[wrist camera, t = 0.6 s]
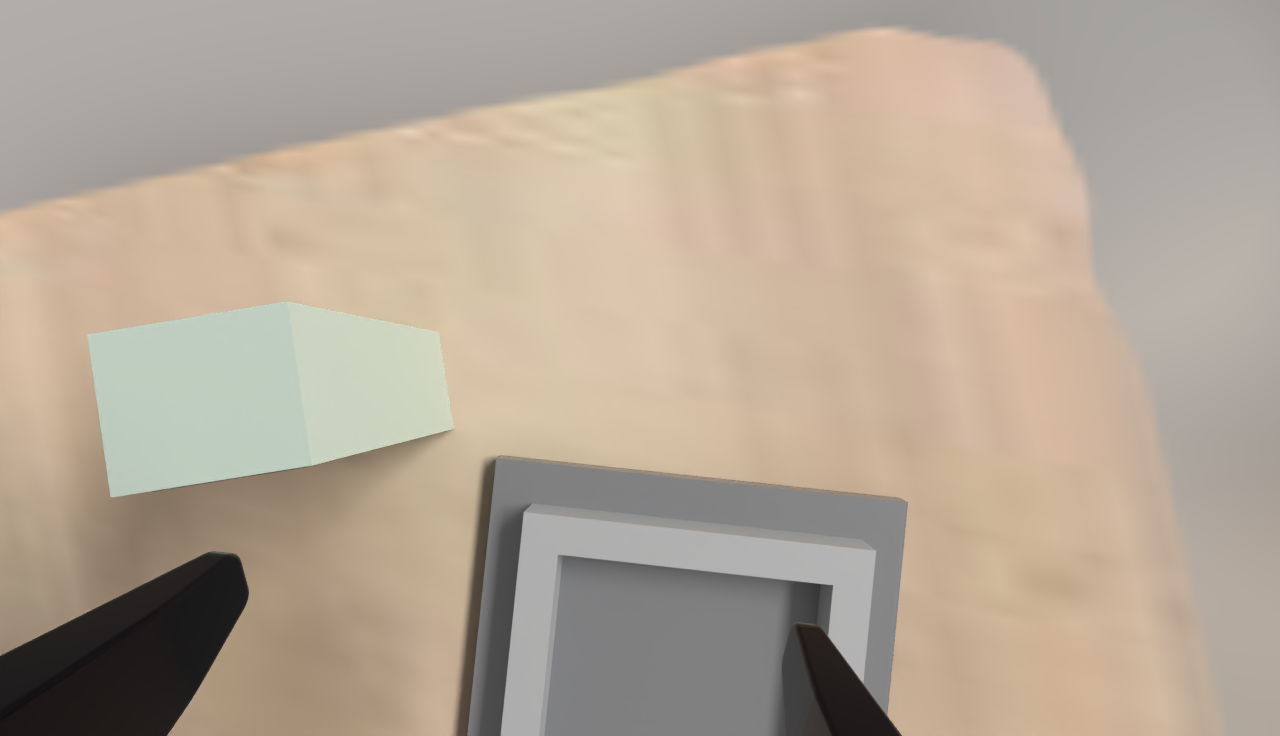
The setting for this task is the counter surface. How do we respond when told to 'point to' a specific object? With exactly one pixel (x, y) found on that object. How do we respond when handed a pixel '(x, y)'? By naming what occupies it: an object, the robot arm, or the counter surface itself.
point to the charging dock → (671, 599)
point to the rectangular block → (260, 393)
